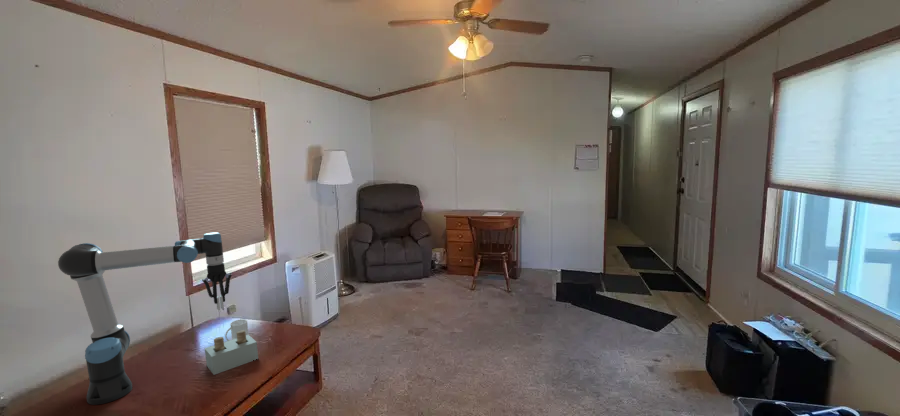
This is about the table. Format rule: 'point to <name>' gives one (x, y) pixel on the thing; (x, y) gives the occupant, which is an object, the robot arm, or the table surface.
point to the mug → (237, 328)
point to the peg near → (219, 344)
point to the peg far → (241, 337)
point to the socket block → (231, 355)
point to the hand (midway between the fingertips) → (220, 308)
